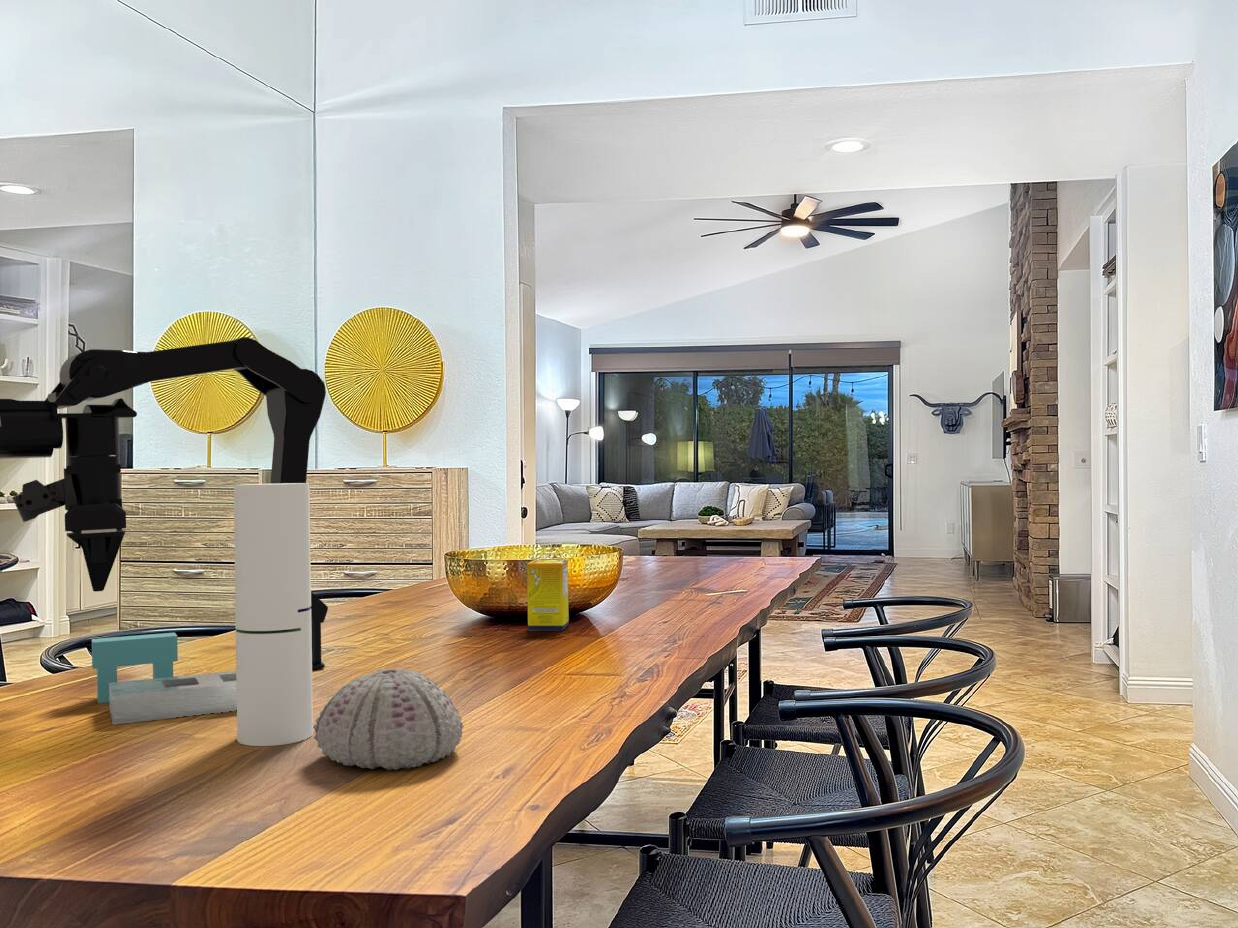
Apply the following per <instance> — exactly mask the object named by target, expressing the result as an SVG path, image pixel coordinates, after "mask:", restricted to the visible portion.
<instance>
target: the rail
mask: <svg viewBox="0 0 1238 928" xmlns="http://www.w3.org/2000/svg"><path fill="white" fill-rule="evenodd" d="M108 703H109V704H108V705H109V706H108V707H109V708H108V709H109V713H110V719H111V723H112V726H113V725H115V726H117V725H123V724H133V723H134V724H135V723H140V722H141V723H142V722H150V721H151V722H152V721H160V720H168V719H169V720H170V719H177V718H176V717H179V718H184V717H183V716H188V717H194V716H193V715H196V716H203V715H202V714H205V715H211V714H210V713H214V714H221V712H223V713H229V711H232V712H237V711H236V710H237V687H236V670H231V671H228V670H227V671H219V672H211V673H198V674H189V675H178V676H176V675H175V676H173V677H166V678H156V679H153V678H148V679H136V680H135V679H134V680H126V681H117V682H114V683H109V702H108Z"/></svg>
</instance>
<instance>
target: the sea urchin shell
mask: <svg viewBox="0 0 1238 928" xmlns="http://www.w3.org/2000/svg"><path fill="white" fill-rule="evenodd" d="M463 724H464V723H463V722H462V716H460V715H459V708H457V707H455V706H454V704H453V700H452V698H449V697H448V696H447V694H446V691H445V690H444V689H443V690H442V689H441V688H440V687H439V685H438V683H434V682H433V681H432V680H431V679H430V678H428V677H427V676H425V674H422V673H421V672H418V671H415V670H408V669H406V668H403V669H395V668H387V669H385V668H384V669H382V668H381V669H378V670H375V671H374V672H370V673H367V674H364V675H361V676H358V677H357V678H355V679H353V680H351V681H349V682H348V683H346V684H344V685H343V686H342V687H341V688H340V689H339V690H337V691H336V692H335V694H333V695H332V696H331V698H330V699H329V700H328V701H327V703H326V704H325V705H324V706H323V708H322V710H321V711H320V712H319V716H318V717H316V718H315V725H313V730H314V732H315V735H314V737H313V739H314V740H315V741H317V745H316V747H318V748H320V749H321V750H322V755H324V756H329V759H330V760H331V761H333V762H334V761H336V762H337V763H338V764H339V763H340V764H343V766H350V767H353V766H357V767H358V768H359V767H360V768H361V769H367V768H368V769H371V770H375V769H376V768H379V767H380V768H384V769H386V770H387V771H391V770H400V769H412V768H415V767H417V768H420V767H421V766H422V765H423V764H428V765H429V764H430V763H435V762H438V761H439V760H440V759H445V756H446V757H447V756H450V755H451V753H452V752H455V751H456V747H457V746H458V745H459V744H460V742H461V738H462V737H463V728H464V727H465V726H464V725H463Z"/></svg>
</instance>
